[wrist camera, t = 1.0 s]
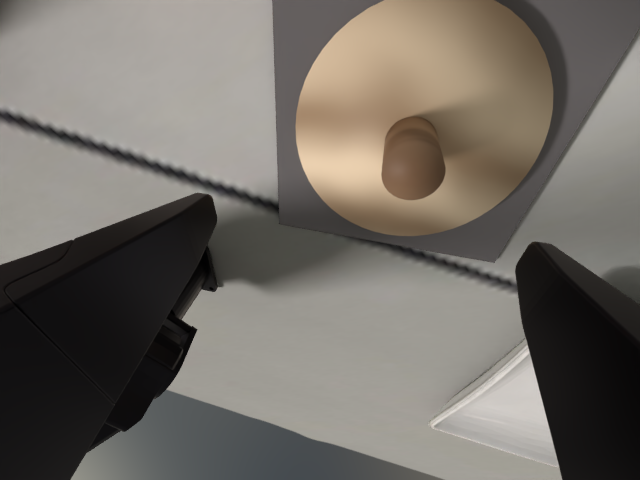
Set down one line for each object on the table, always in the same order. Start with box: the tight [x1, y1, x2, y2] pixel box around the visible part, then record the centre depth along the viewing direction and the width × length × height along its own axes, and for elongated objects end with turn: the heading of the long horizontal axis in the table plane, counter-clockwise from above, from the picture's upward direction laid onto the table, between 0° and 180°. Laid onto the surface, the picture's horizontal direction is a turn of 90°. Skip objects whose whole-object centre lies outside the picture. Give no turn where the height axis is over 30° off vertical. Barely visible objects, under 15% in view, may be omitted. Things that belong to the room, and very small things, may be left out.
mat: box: [272, 0, 640, 263], centre depth 19 cm, size 17×17×1 cm
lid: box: [296, 0, 553, 236], centre depth 17 cm, size 14×14×5 cm
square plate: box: [429, 339, 559, 468], centre depth 29 cm, size 27×27×4 cm
